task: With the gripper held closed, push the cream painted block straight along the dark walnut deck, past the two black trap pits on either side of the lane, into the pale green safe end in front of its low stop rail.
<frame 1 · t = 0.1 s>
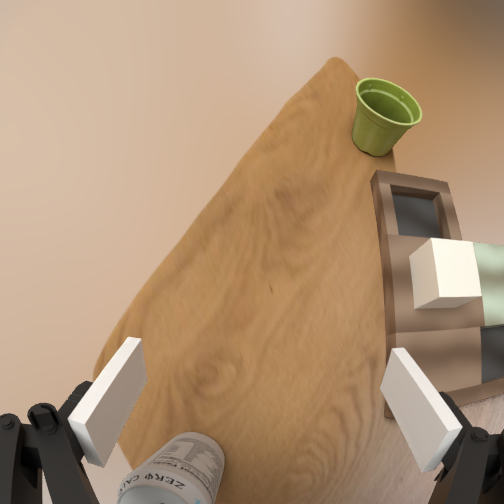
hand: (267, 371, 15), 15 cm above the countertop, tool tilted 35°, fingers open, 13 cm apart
block: (433, 282, 30), point 2 cm above the countertop, touching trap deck
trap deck: (453, 288, 32), on the countertop
plant pot: (370, 142, 40), on the countertop
energy drink can: (196, 456, 25), on the countertop
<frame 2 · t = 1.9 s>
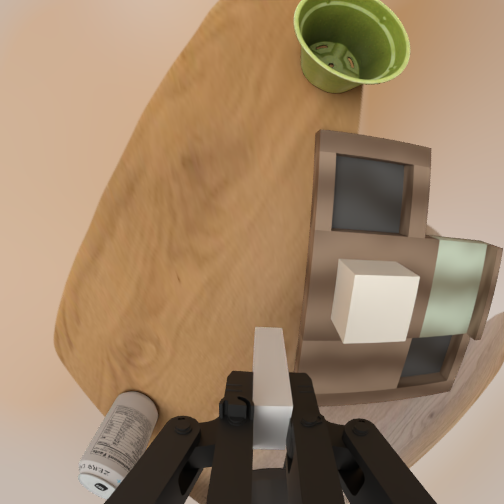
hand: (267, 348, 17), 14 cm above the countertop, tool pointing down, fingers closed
block: (364, 290, 28), point 2 cm above the countertop, touching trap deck
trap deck: (398, 283, 30), on the countertop
plant pot: (330, 67, 26), on the countertop
energy drink can: (139, 404, 35), on the countertop
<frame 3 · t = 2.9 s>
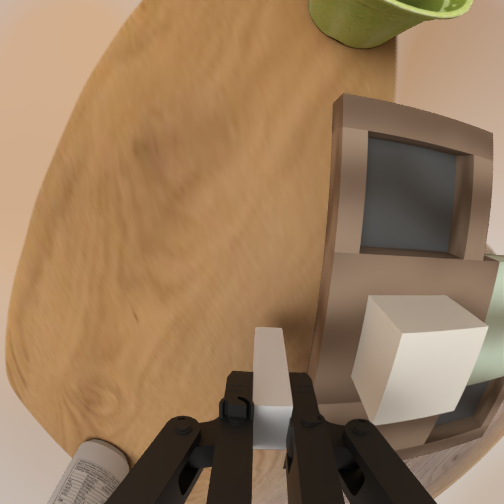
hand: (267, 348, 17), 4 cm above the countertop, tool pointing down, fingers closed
block: (400, 337, 18), point 2 cm above the countertop, touching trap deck
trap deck: (440, 319, 20), on the countertop
plant pot: (350, 15, 16), on the countertop
energy drink can: (107, 452, 25), on the countertop
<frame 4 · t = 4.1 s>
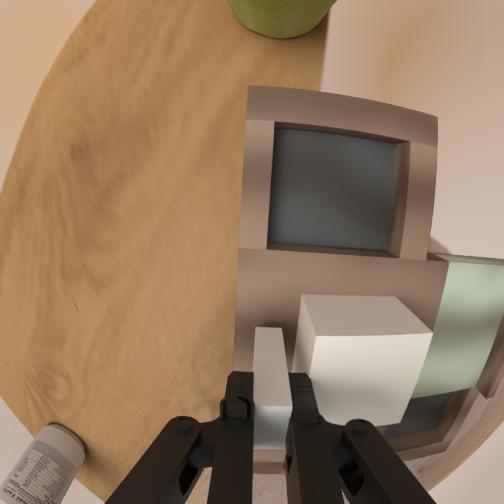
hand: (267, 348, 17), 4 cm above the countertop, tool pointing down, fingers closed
block: (342, 339, 18), point 3 cm above the countertop, touching gripper
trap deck: (382, 323, 20), on the countertop
plant pot: (278, 6, 16), on the countertop
energy drink can: (67, 437, 25), on the countertop
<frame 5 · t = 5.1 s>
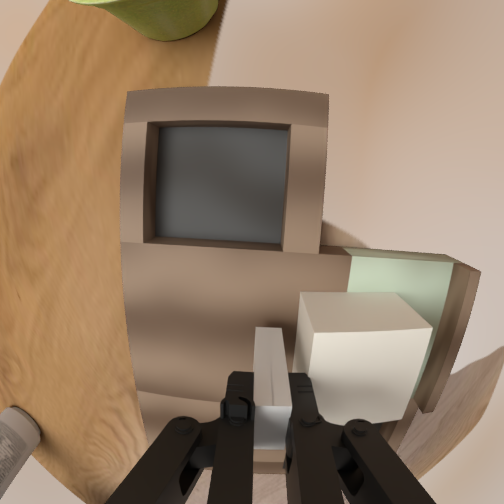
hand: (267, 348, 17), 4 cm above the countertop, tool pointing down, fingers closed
block: (343, 336, 18), point 3 cm above the countertop, touching gripper
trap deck: (287, 322, 20), on the countertop
plant pot: (177, 9, 16), on the countertop
energy drink can: (26, 420, 25), on the countertop
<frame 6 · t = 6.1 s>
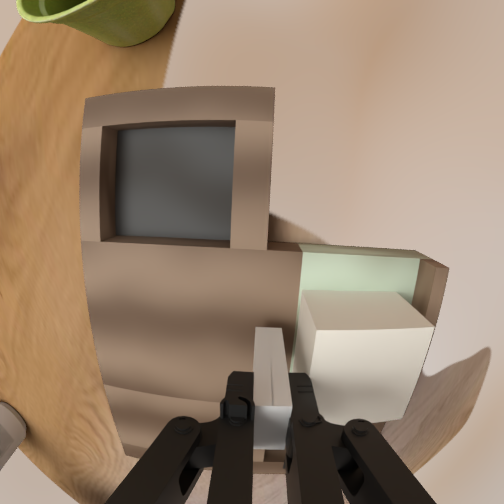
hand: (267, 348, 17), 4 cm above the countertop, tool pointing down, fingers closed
block: (343, 335, 18), point 2 cm above the countertop, touching gripper, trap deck
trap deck: (246, 320, 20), on the countertop
plant pot: (138, 15, 16), on the countertop
energy drink can: (13, 415, 25), on the countertop
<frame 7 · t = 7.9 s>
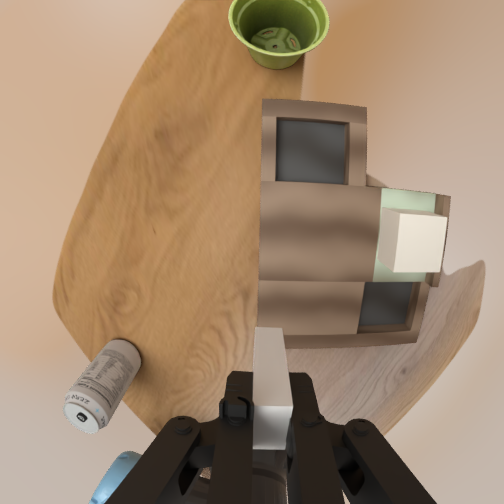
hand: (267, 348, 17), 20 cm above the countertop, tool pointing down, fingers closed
block: (402, 234, 32), point 2 cm above the countertop, touching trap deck
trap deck: (347, 230, 35), on the countertop
plant pot: (275, 48, 30), on the countertop
energy drink can: (125, 352, 41), on the countertop
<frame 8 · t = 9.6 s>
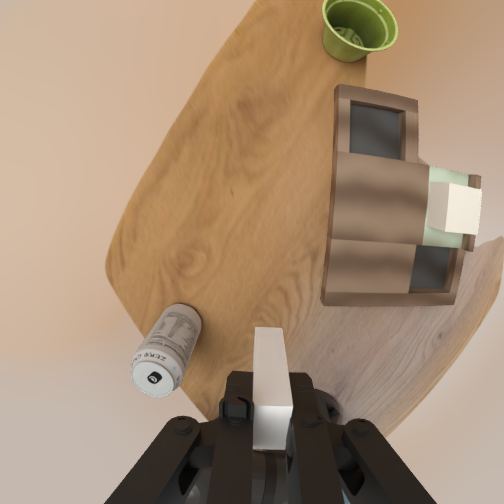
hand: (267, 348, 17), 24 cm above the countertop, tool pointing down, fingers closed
block: (444, 205, 36), point 2 cm above the countertop, touching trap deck
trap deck: (401, 201, 38), on the countertop
plant pot: (343, 45, 34), on the countertop
energy drink can: (183, 319, 43), on the countertop
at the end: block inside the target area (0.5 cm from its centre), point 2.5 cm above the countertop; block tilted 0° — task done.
